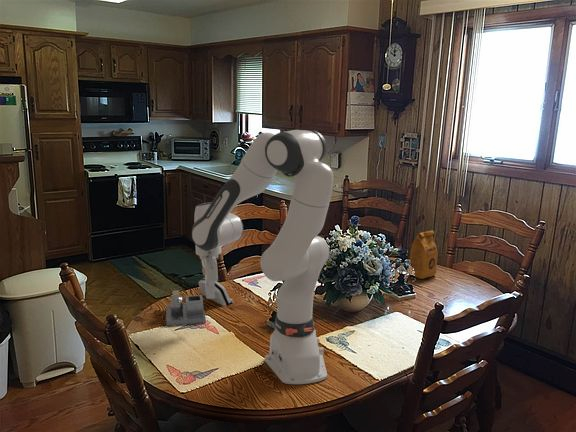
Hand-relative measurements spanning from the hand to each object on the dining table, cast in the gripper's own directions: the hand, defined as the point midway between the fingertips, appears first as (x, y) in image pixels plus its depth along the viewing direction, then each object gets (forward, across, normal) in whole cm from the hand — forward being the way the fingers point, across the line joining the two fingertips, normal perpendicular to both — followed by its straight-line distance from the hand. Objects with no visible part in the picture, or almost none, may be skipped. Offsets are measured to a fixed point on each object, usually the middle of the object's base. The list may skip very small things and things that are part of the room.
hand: (210, 286), depth 172 cm
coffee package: (+17, +35, -103) cm, 110 cm away
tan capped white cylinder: (+4, 0, 0) cm, 4 cm away
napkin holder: (+16, +26, -4) cm, 31 cm away
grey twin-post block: (+15, +13, +9) cm, 22 cm away
